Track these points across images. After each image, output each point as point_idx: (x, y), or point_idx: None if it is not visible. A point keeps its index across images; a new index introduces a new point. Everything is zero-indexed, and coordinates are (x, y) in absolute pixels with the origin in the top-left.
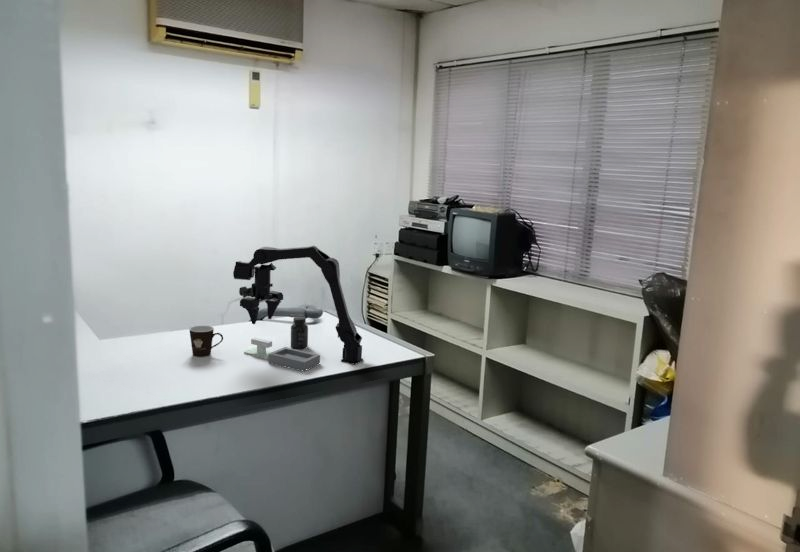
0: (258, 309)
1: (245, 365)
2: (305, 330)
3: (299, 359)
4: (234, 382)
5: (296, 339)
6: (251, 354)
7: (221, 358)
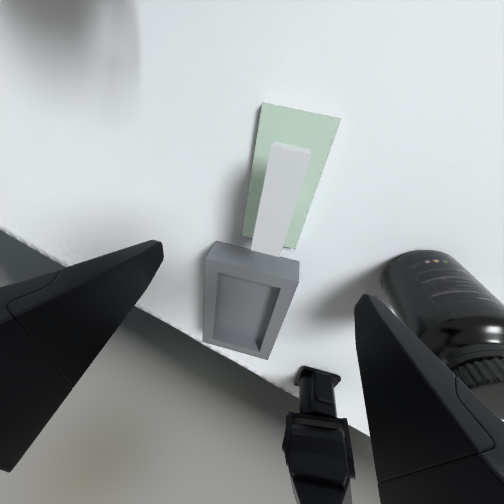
0: (26, 432)
1: (157, 189)
2: None
3: (212, 332)
4: (60, 223)
5: (394, 301)
6: (254, 153)
7: (149, 35)
